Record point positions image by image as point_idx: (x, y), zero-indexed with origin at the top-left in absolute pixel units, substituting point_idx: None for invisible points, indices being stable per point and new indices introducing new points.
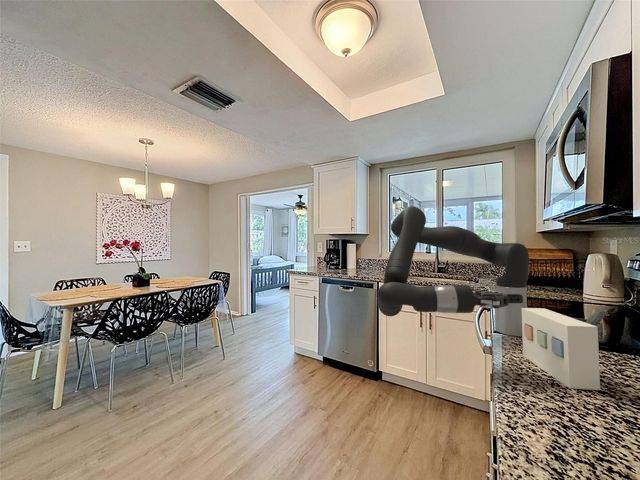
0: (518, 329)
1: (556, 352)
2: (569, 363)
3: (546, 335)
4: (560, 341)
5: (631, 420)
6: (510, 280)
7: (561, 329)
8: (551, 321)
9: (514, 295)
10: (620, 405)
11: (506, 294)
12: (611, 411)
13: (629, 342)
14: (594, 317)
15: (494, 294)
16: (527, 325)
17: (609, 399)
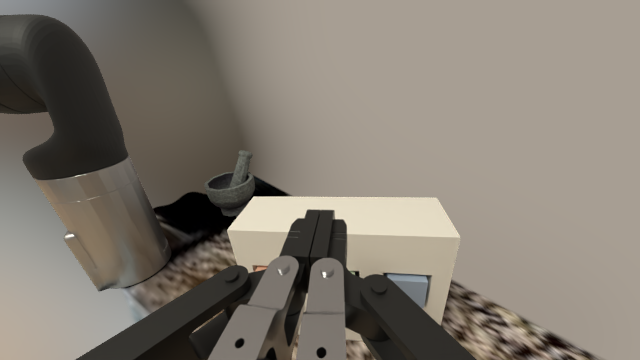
0: (157, 255)
1: None
2: (443, 310)
3: (354, 274)
4: (415, 276)
5: (544, 331)
6: (87, 150)
7: (429, 250)
8: (384, 239)
9: (332, 232)
10: (478, 307)
11: (312, 254)
12: (522, 341)
13: (255, 179)
14: (243, 167)
15: (345, 351)
16: (264, 268)
17: (459, 307)
